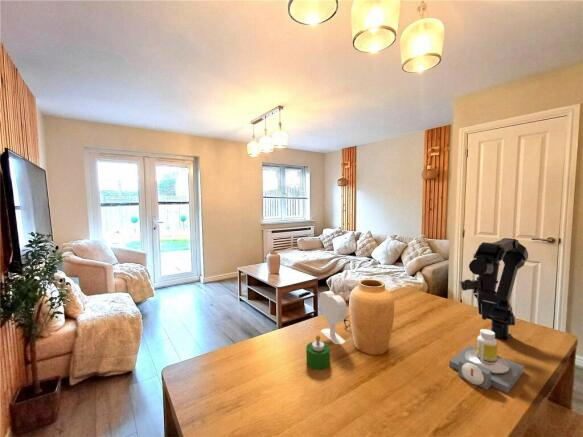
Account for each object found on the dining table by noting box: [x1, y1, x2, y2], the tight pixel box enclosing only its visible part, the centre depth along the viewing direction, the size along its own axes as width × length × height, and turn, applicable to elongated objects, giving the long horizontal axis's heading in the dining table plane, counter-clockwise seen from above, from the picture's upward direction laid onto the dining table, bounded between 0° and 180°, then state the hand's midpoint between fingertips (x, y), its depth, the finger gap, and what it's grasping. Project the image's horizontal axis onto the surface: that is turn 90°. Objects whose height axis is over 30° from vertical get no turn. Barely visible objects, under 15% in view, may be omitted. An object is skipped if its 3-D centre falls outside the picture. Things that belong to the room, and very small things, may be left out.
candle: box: [305, 335, 331, 371], centre depth 95 cm, size 8×8×10 cm
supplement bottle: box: [476, 328, 498, 364], centre depth 89 cm, size 5×5×10 cm
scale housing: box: [449, 344, 525, 394], centre depth 89 cm, size 20×16×6 cm
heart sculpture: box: [319, 290, 348, 345], centre depth 113 cm, size 16×5×18 cm, turn 24°
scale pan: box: [465, 350, 509, 374], centre depth 90 cm, size 12×12×1 cm
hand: (482, 316), depth 101 cm, fingers open, 9 cm apart
